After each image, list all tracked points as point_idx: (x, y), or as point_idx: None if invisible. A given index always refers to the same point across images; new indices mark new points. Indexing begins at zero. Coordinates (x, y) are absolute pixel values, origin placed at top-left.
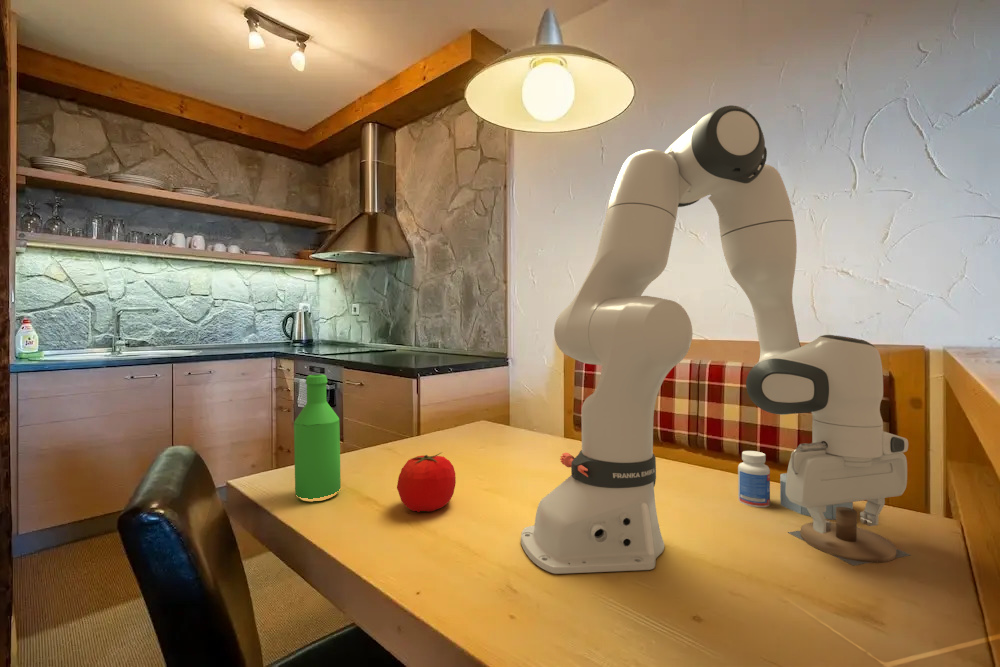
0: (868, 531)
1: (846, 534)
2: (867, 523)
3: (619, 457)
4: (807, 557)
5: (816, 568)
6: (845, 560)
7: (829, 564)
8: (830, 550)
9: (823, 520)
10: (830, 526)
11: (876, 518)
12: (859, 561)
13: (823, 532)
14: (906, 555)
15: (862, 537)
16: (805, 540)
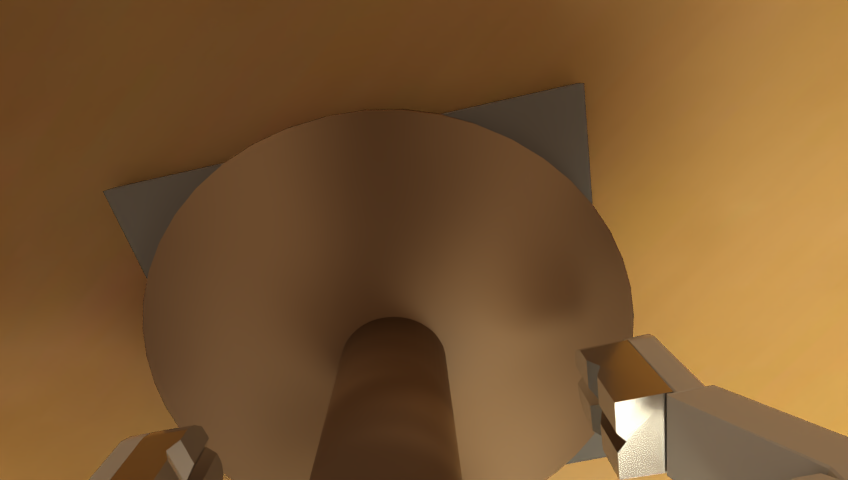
0: None
1: (427, 352)
2: (201, 447)
3: None
4: (721, 224)
5: (793, 97)
6: (580, 145)
7: (673, 139)
8: (609, 233)
9: (727, 401)
10: (602, 373)
11: (108, 476)
12: (503, 128)
13: (652, 335)
14: (139, 185)
15: (287, 364)
16: None
